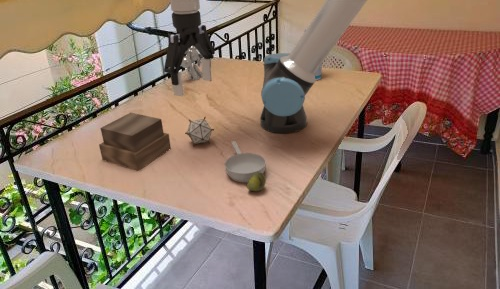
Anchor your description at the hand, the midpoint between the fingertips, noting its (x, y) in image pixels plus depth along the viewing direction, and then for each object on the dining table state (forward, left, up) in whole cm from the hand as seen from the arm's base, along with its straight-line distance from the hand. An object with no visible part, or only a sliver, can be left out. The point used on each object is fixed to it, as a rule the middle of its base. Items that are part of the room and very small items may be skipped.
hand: (193, 87), depth 121 cm
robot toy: (+39, -49, -18) cm, 65 cm away
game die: (0, 0, -18) cm, 18 cm away
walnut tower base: (+13, +14, -18) cm, 26 cm away
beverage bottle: (-8, -69, -18) cm, 72 cm away
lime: (-28, +15, -18) cm, 37 cm away
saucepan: (-19, +7, -18) cm, 27 cm away
